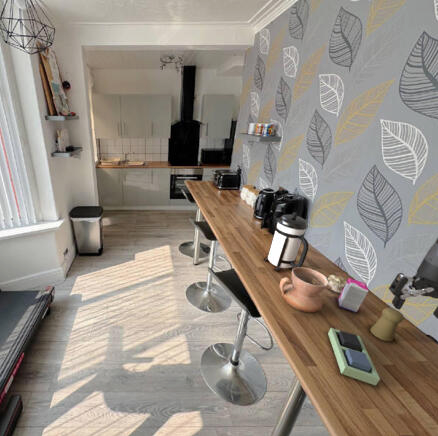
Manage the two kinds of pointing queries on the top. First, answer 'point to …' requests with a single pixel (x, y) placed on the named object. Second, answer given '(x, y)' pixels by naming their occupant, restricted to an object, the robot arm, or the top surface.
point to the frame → (344, 368)
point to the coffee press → (288, 242)
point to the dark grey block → (349, 340)
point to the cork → (387, 324)
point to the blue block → (357, 360)
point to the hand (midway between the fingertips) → (416, 311)
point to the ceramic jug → (304, 289)
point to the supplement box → (353, 295)
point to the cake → (336, 283)
